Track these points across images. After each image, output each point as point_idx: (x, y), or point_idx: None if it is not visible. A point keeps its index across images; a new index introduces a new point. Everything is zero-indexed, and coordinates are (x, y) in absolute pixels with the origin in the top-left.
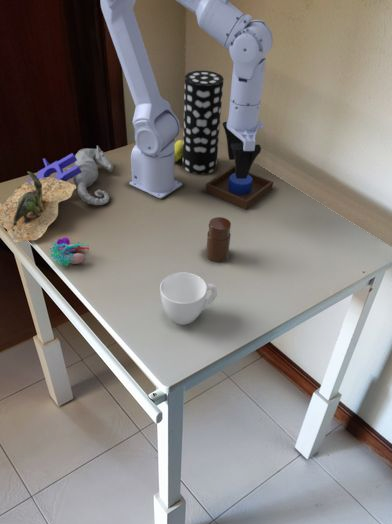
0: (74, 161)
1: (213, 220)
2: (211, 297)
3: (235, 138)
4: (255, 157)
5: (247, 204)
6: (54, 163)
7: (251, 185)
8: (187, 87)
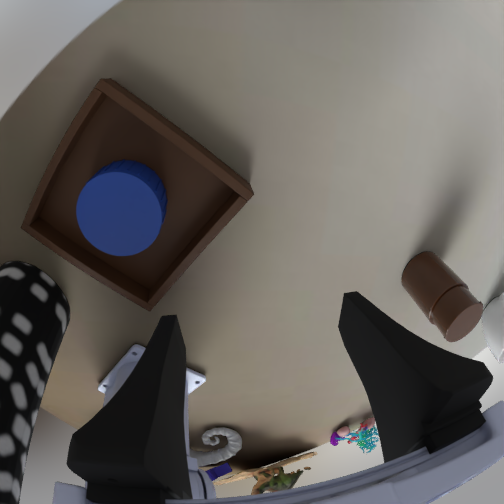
0: None
1: (452, 336)
2: None
3: (175, 427)
4: (449, 353)
5: (249, 187)
6: None
7: (131, 166)
8: None
